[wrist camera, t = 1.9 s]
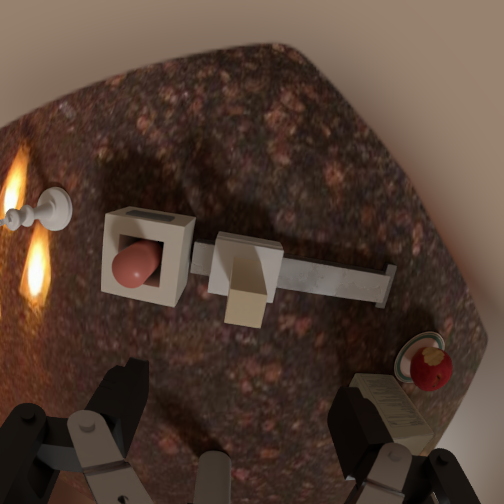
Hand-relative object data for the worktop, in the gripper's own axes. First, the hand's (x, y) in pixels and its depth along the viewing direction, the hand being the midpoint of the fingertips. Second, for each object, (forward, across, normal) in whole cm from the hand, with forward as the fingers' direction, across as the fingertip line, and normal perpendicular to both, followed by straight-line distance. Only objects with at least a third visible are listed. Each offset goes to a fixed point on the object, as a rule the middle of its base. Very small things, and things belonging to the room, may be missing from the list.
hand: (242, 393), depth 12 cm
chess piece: (+20, +22, -2) cm, 30 cm away
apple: (+20, -25, +9) cm, 34 cm away
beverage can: (+20, -1, +31) cm, 37 cm away
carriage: (+20, 0, 0) cm, 20 cm away
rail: (+20, -5, 0) cm, 21 cm away
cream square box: (+20, +9, 0) cm, 22 cm away
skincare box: (+20, -19, +14) cm, 31 cm away
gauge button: (+17, +9, 0) cm, 19 cm away
